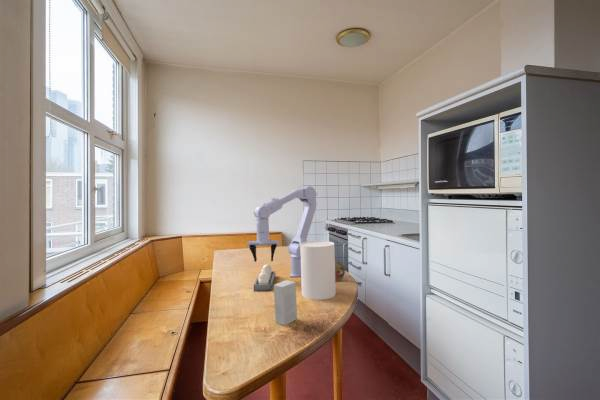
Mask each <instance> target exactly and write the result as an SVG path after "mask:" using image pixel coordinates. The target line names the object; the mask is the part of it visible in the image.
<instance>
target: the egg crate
mask: <svg viewBox="0 0 600 400" xmlns="http://www.w3.org/2000/svg"><path fill="white" fill-rule="evenodd" d="M272 270H273V269H272V266H271V265H270V264H267V263H266V264H264V265H263V266H262V269H261V270H260V271H259V273H258V274H257V278H256V279H255V282H254V283H253V291H254V292H264V291H268V292H269V291H273V288H274V283H275V279H276V271H274V270H273V271H272ZM262 272H266V273H267V274H268V276H269V284H259V282H258V276H259V274H260V273H262Z"/></svg>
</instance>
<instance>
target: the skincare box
mask: <svg viewBox="0 0 600 400" xmlns="http://www.w3.org/2000/svg"><path fill="white" fill-rule="evenodd" d="M296 285H297V284H296V281H291V280H289V279H288V280H287V279H286V280H283V281H281V282H278V283H276V284H273V297H274V300H273V301H274V320H275V321H274V322H275V324H279V325H281V326H287V325H289V324H291V323H292V322H294V321H296V320H297V319H298V312H297V311H298V308H297V288H296V287H297V286H296Z"/></svg>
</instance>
